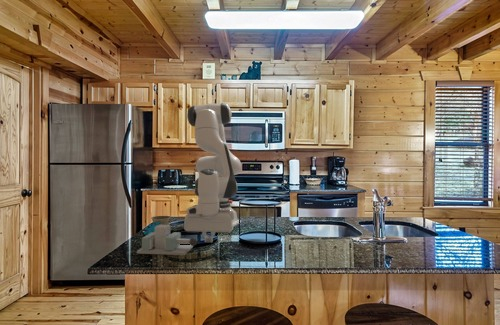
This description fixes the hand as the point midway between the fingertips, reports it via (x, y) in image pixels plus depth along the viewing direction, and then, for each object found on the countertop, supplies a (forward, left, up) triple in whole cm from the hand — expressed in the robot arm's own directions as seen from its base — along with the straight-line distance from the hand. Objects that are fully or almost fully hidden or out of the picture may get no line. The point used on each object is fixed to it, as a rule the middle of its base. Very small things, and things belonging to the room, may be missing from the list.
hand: (208, 242), depth 134 cm
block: (+8, -18, -3) cm, 20 cm away
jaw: (+5, -10, -2) cm, 11 cm away
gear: (-3, -34, -4) cm, 34 cm away
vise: (+8, -16, -4) cm, 19 cm away
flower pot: (-10, -37, -4) cm, 39 cm away
